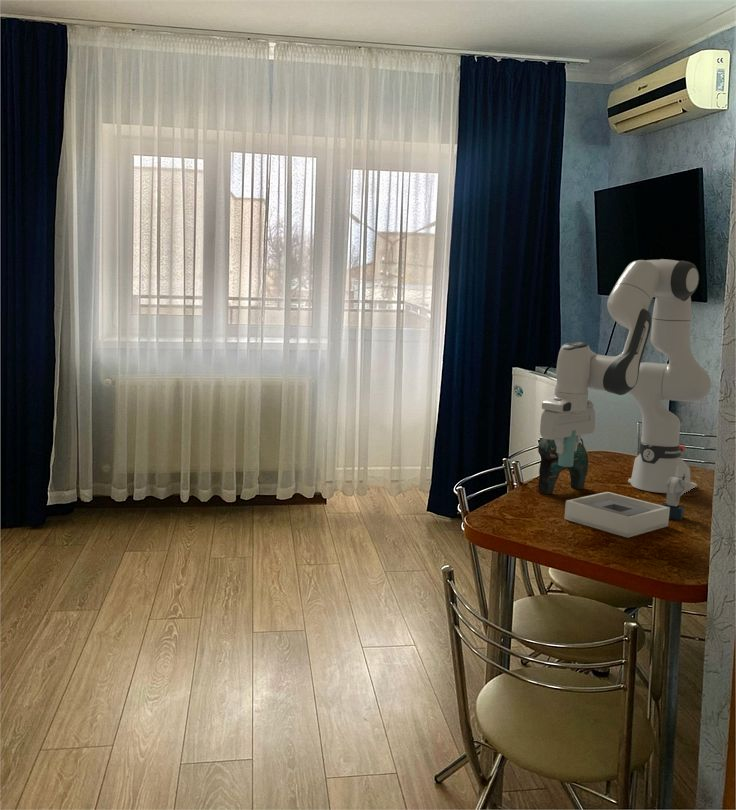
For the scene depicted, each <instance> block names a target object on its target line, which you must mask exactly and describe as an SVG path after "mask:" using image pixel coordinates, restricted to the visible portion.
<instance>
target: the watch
mask: <svg viewBox="0 0 736 810" xmlns="http://www.w3.org/2000/svg"><path fill="white" fill-rule="evenodd" d="M665 485H667V487H668V492H667V493H666V500H665V501H666V502H663V503H661V505H662V506H665V507H669V508H670V512H669V519H670V520H676V521H682V519H683V518H684V517H685V516H684V515H685V505H681V504H679V503H680V499H681V497H682V496H683V495H684V494H683V492H684V490H685V488H686V483H685V481H684V480H682V479H681V478H678V477H670V479H669V480H668V483H666V484H665Z"/></svg>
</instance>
